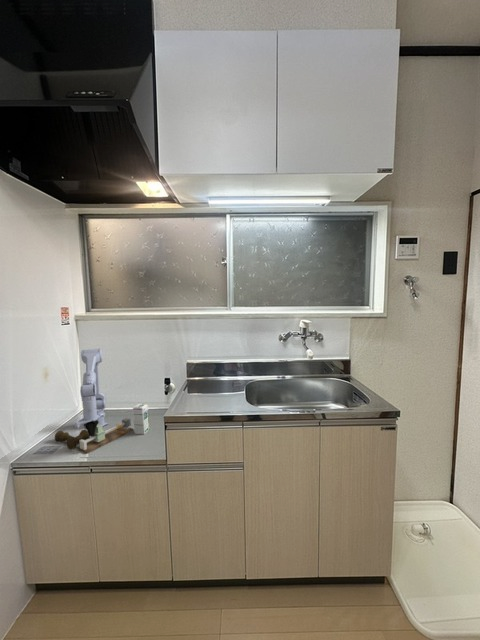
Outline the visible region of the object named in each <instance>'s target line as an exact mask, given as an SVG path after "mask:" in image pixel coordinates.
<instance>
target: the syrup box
mask: <svg viewBox="0 0 480 640" xmlns="http://www.w3.org/2000/svg"><path fill="white" fill-rule="evenodd" d="M132 412H133V414H132V417H133V432H134V434H136V435H137V434H138V435H145V434H146V433H147V432H148V431H150V420H149V419H150V418H149V417H150V415H149V405H148V403H138V404H136V405H135V406H132Z"/></svg>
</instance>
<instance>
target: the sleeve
mask: <svg viewBox="0 0 480 640" xmlns="http://www.w3.org/2000/svg"><path fill="white" fill-rule="evenodd" d="M105 431H106V430H104V428H103V426H102V425H99V424H98V425H97V427H96V429H95V434H94V436H95V435H96V438H95V439H93V441H96V442H100V441H102V440H104V439H105Z"/></svg>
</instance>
